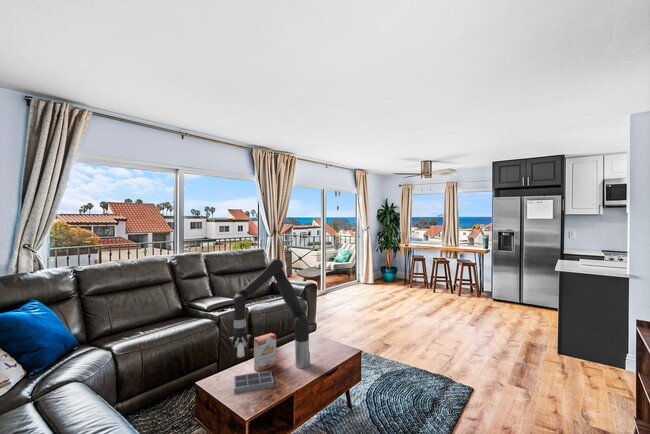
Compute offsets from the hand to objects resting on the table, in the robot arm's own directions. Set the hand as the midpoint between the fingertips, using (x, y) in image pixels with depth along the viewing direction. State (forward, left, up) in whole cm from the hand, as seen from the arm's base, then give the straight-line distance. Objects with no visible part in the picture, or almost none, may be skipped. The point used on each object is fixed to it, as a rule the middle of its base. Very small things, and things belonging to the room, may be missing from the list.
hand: (240, 352), depth 203 cm
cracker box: (-16, -4, -14) cm, 22 cm away
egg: (0, 0, -2) cm, 2 cm away
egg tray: (-7, +15, -14) cm, 21 cm away
